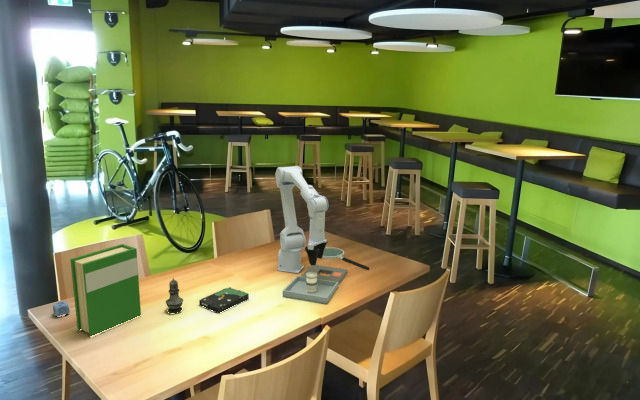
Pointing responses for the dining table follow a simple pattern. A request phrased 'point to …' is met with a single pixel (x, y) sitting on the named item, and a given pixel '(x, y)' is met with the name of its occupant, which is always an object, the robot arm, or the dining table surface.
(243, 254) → the dining table surface
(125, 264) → the hardback book
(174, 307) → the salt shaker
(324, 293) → the parts tray
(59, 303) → the decorative dice
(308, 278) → the fuse
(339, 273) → the fuse holder
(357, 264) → the magnifying glass
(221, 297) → the disk drive
